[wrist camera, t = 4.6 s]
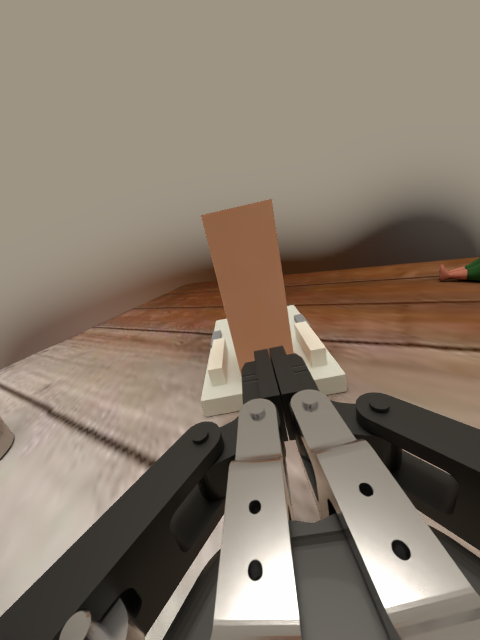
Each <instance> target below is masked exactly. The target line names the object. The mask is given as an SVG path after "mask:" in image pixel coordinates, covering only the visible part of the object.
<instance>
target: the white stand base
mask: <svg viewBox="0 0 480 640" xmlns="http://www.w3.org/2000/svg"><path fill="white" fill-rule="evenodd" d="M287 310H288V317H289V324H290V331H291V338H292V345H293V352H294V353H296V354H298V355H299V356H301V357H302V358H303V360H304V362H305V364H306V366H307V368H308V369H309V371H310V373H311V375H312V377H313V379H314V381H315V383H316V385H317V387H318V389H319V391H320V392H322V393H324V394H325V395H329V394H335V393H340V392H345V391H346V374H345V373H344V371H343V370H342V369H341V367H340V366H339V365H338V363H337V362H336V361H335V359H334V358H333V357H332V356H331V354H330V353H329V352H328V350H327V349H326V347H325V346H324V345H323V343H322V342H321V341H320V339H319V338H318V337H317V335H316V334H315V333H314V331H313V330H312V329H311V325H310V324H309V323H308V321H307V320H306V319H305V318H304V316H303V315H302V314H300V313H299V312H298V310H297V309H296V308H295V306H294V305H291V306H287ZM210 346H211V350H210V355H209V361H208V366H207V371H206V376H205V381H204V386H203V392H202V397H201V404H202V407H203V410H204V413H205V416H206V417H209V416H214V415H219V414H225V413H230V412H236V411H240V409H241V407H242V406H243V398H242V377H241V373H240V369H239V365H238V361H237V357H236V353H235V349H234V345H233V341H232V337H231V333H230V329H229V325H228V321H227V319H223V320H218V321H216V324H215V330H214V332H213V335H212V340H211V345H210Z"/></svg>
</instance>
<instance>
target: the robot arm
mask: <svg viewBox="0 0 480 640" xmlns="http://www.w3.org/2000/svg"><path fill="white" fill-rule="evenodd" d="M269 354H270V356H269ZM254 358H255V361H252V362H247V363H245V364H244V366H243V367H242V369H241V376H242V398H243V406H242V407H241V409H240V411H239V416H238V417H237V418H236V419H235V420H234V421H232V422H231V423H229V424H227V425H224V426H222V427H220V428H219V427H218V425H217V424H215V423H213V422H201V423H198V424H196V425H194V426H192V427H191V428H190V429H189V430H187V431H186V432H185V433H184V434H183V435H182V436H181V437H180V438H179V439H178V440H177V441H176V442H175V443H174V444H173V445H172V446H171V447H170V448H169V449H168V450H167V451H166V452H165V453H164V454H163V455H162V456H161V457H160V458H159V459H158V460H157V461H156V462H155V463H154V464H153V465H152V466H151V467H150V468H149V469H148V470H147V471H146V472H145V473H144V474H143V475H142V476H141V477H140V478H139V479H138V480H137V481H136V482H135V483H134V484H133V485H132V486H131V487H130V488H129V489H128V490H127V491H126V492H125V493H124V494H123V495H122V496H121V497H120V498H119V499H118V500H117V501H116V502H115V503H114V504H113V505H112V506H111V507H110V508H109V509H108V510H107V511H106V512H105V513H104V514H103V515H102V516H101V517H100V518H99V519H98V520H97V521H96V522H95V523H94V524H93V525H92V526H91V527H90V528H89V529H88V530H87V531H86V532H85V533H84V534H83V535H82V536H81V537H80V538H79V539H78V540H77V541H76V542H75V543H74V544H73V545H72V546H71V547H70V548H69V549H68V550H67V551H66V552H65V553H64V554H63V555H62V556H61V557H60V558H59V559H58V560H57V561H56V562H55V563H54V564H53V565H52V566H51V567H50V568H49V569H48V570H47V571H46V572H45V573H44V574H43V575H42V576H41V577H40V578H39V579H38V580H37V581H36V582H35V583H34V584H33V585H32V586H31V587H30V588H29V589H28V590H27V591H26V592H25V593H24V594H23V595H22V596H21V597H20V598H19V599H18V600H17V601H16V602H15V603H14V604H13V605H12V606H11V607H10V608H9V609H8V610H7V611H6V612H5V613H4V614H3V615H2V616H1V617H0V640H145V636H146V634H147V633H148V631H149V630H150V628H151V627H152V625H153V623H154V622H155V620H156V619H157V617H158V616H159V614H160V613H161V611H162V609H163V608H164V606H165V605H166V603H167V602H168V600H169V599H170V597H171V595H172V594H173V592H174V591H175V589H176V588H177V586H178V585H179V583H180V581H181V580H182V578H183V577H184V575H185V574H186V572H187V571H188V569H189V567H190V566H191V564H192V563H193V561H194V560H195V558H196V557H197V555H198V553H199V552H200V550H201V549H202V547H203V546H204V544H205V543H206V541H207V539H208V538H209V536H210V535H211V533H212V532H213V530H214V529H215V527H216V526H217V524H218V522H219V521H220V519H221V518H222V516H223V515H224V522H223V532H222V542H221V549H220V550H219V551H218V552H217V553H216V554H215V555H214V556H213V557H212V558H211V559H210V560H209V562H208V563H207V565H206V566H205V567H204V569H203V570H202V572H201V573H200V575H199V577H198V578H197V580H196V582H195V584H194V585H193V587H192V589H191V591H190V592H189V594H188V596H187V598H186V599H185V601H184V603H183V605H182V606H181V608H180V610H179V612H178V613H177V615H176V617H175V619H174V620H173V622H172V624H171V626H170V627H169V629H168V631H167V633H166V634H165V636H164V638H163V640H480V558H479V557H477V556H476V555H475V554H473V553H472V552H470V551H469V550H467V549H466V548H465V547H463V546H462V545H460V544H459V543H458V542H456V541H455V540H453V539H452V538H450V537H449V536H447V535H445V534H444V533H442V532H440V531H439V530H437V529H435V528H433V527H431V526H429V525H427V523H426V522H425V521H424V519H423V518H422V516H421V515H420V514H419V512H418V511H417V510H419V511H420V512H422V513H423V514H425V515H426V516H428V517H429V518H431V519H432V520H434V521H435V522H437V523H439V524H440V525H442V526H443V527H445V528H446V529H448V530H449V531H451V532H452V533H454V534H455V535H457V536H458V537H460V538H461V539H463V540H464V541H466V542H467V543H469V544H471V545H472V546H474V547H475V548H477V549H478V550H480V430H479V429H477V428H474V427H471V426H469V425H466V424H463V423H461V422H458V421H455V420H453V419H450V418H447V417H445V416H442V415H439V414H437V413H434V412H432V411H429V410H426V409H424V408H421V407H418V406H416V405H413V404H410V403H408V402H405V401H402V400H400V399H397V398H394V397H392V396H389V395H386V394H382V393H366V394H363V395H361V396H360V397H359V398H358V399H357V400H356V404H348V403H338V402H334V401H331V400H329V398H328V397H327V396H326V395H325V394H324V393H322V392H320V391H319V389H318V387H317V385H316V383H315V381H314V379H313V377H312V375H311V373H310V371H309V369H308V368H307V366H306V364H305V362H304V360H303V358H302V357H301V356H299V355H298V354H296V353H293V354H288V355H286V352H285V350H284V347H283V345H282V346H277V347H272V348H269V352H268V349H262V350H257V351H254ZM270 359H271V360H270ZM284 420H285V421H284ZM285 424H286V426H285ZM286 428H287V431H288V435H289V439H290V440H296V443H297V447H298V453H299V458H300V461H301V464H302V467H303V469H304V472H305V475H306V478H307V480H308V483H309V486H310V489H311V491H312V494H313V497H314V499H315V502H316V505H317V508H318V511H319V514H320V518H321V520H320V521H318V522H316V523H306V522H300V521H294V515H293V508H292V501H291V493H290V486H289V479H288V471H287V464H286V449H285V444H284V441H288V437H287V432H286ZM13 440H14V435H13V433H12V432H11V431H10V429H9V428H8V427H7V425H6V424H5V423H4V421H3V420H2V419H1V417H0V458H1V457H2V456H3V455H4V454H5V453H6V451H7V450H8V449H9V447H10V446H11V444H12V442H13ZM402 449H404V450H406V451H408V452H410V453H412V454H414V455H416V456H418V457H419V458H421V459H423V460H425V461H427V462H429V463H431V464H433V465H435V466H437V467H439V468H441V469H443V470H445V471H446V472H448V473H449V474H450V475H449V474H447V473H445V472H443V471H441V470H440V469H438V468H436V467H434V466H432V465H430V464H428V463H426V462H424V461H422V460H420V459H418V458H416V457H414V456H412V455H410V454H409V453H407V452H405V451H403V450H402Z"/></svg>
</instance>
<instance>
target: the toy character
mask: <svg viewBox="0 0 480 640" xmlns="http://www.w3.org/2000/svg"><path fill="white" fill-rule="evenodd" d="M439 278H440V280H445V279H448V278H453V279H464V280H475V281H480V258H479V259H477V260H475V261H474V262H472V263H470V264H469V265H466V266H464V267H460V268H457V269H453V270H450V271H447V270H446V269H445V267H444V265H440V271H439Z"/></svg>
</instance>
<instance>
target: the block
mask: <svg viewBox="0 0 480 640" xmlns="http://www.w3.org/2000/svg"><path fill="white" fill-rule="evenodd" d="M201 217H202V221H203V225H204V228H205V233H206V237H207V241H208V245H209V248H210V253H211V256H212V261H213V265H214V269H215V273H216V277H217V281H218V285H219V289H220V293H221V297H222V301H223V305H224V309H225V313H226V317H227V321H228V325H229V329H230V333H231V337H232V341H233V345H234V349H235V353H236V357H237V361H238V365H239V369H240V373H241V369H242V367H243V366H244V364H245V363H247V362H252V361H255V358H254V351H257V350H262V349H268V352H269V348H272V347H277V346H282V345H283V347H284V350H285V352H286V355H288V354H293V353H294V352H293V345H292V338H291V331H290V324H289V317H288V310H287V303H286V296H285V289H284V282H283V275H282V268H281V262H280V254H279V248H278V241H277V234H276V227H275V220H274V213H273V206H272V200H271V199H270V200H265V201H261V202H257V203H253V204H248V205H244V206H240V207H236V208H231V209H227V210H222V211H219V212H214V213H209V214H205V215H202V216H201ZM269 356H270V354H269ZM270 360H271V359H270ZM241 377H242V376H241Z"/></svg>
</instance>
